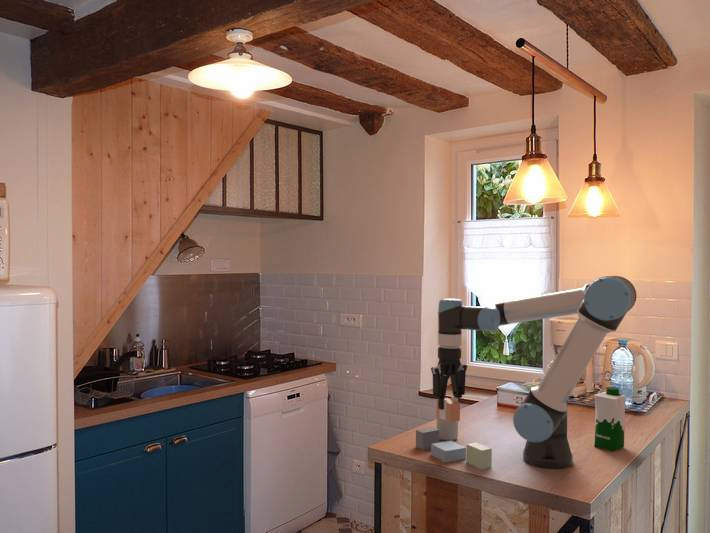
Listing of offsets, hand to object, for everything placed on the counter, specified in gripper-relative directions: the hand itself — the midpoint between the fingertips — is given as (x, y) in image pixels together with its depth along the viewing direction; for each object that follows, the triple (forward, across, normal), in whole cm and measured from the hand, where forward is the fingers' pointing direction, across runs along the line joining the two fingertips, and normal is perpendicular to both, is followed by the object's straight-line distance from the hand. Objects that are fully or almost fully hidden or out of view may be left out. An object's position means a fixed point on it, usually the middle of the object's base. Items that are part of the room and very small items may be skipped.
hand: (448, 417), depth 196 cm
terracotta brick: (0, 0, 0) cm, 1 cm away
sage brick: (+13, -3, +11) cm, 17 cm away
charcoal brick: (+13, 0, -11) cm, 17 cm away
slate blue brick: (+13, 0, +1) cm, 13 cm away
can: (+13, -12, -15) cm, 23 cm away
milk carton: (+13, -54, +20) cm, 59 cm away
